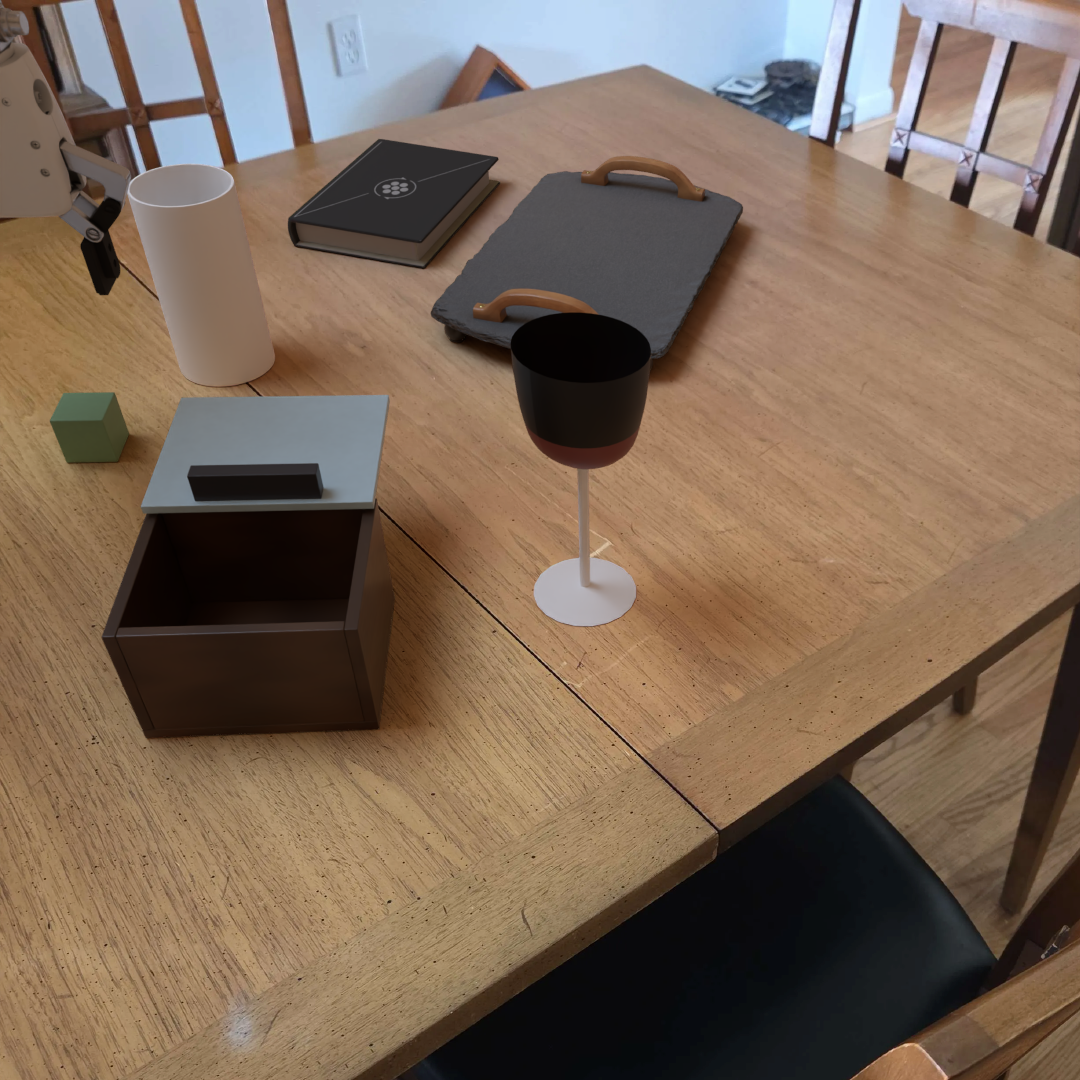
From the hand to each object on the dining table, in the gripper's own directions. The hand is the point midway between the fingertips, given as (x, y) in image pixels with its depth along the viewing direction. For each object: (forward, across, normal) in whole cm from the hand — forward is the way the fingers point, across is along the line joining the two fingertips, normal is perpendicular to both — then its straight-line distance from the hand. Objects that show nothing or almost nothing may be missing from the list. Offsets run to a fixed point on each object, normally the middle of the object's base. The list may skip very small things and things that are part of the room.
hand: (39, 286), depth 84 cm
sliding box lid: (+5, -18, +15) cm, 24 cm away
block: (+14, 0, 0) cm, 14 cm away
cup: (+14, -8, -13) cm, 21 cm away
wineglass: (+14, -39, +19) cm, 46 cm away
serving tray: (+14, -42, -28) cm, 52 cm away
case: (+14, -18, +26) cm, 34 cm away
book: (+14, -21, -43) cm, 50 cm away
